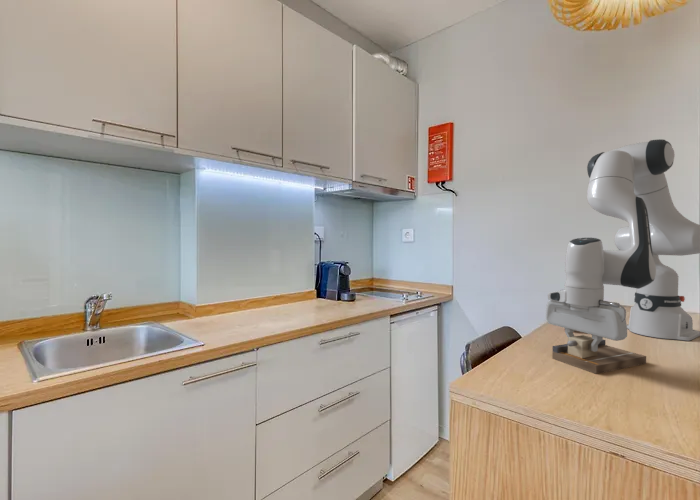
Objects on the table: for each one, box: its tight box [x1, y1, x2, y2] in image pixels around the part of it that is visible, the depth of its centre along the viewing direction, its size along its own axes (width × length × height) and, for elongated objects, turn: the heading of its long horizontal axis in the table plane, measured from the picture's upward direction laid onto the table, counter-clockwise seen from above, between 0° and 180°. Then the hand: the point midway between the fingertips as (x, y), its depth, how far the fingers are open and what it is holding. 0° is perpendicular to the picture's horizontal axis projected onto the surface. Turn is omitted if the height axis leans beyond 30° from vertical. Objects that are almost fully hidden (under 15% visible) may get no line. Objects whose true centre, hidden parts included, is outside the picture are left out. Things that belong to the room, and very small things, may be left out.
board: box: [551, 338, 647, 375], centre depth 95 cm, size 20×12×4 cm, turn 111°
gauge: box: [566, 334, 597, 358], centre depth 94 cm, size 10×4×4 cm, turn 111°
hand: (582, 347), depth 94 cm, fingers closed on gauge, 4 cm apart
